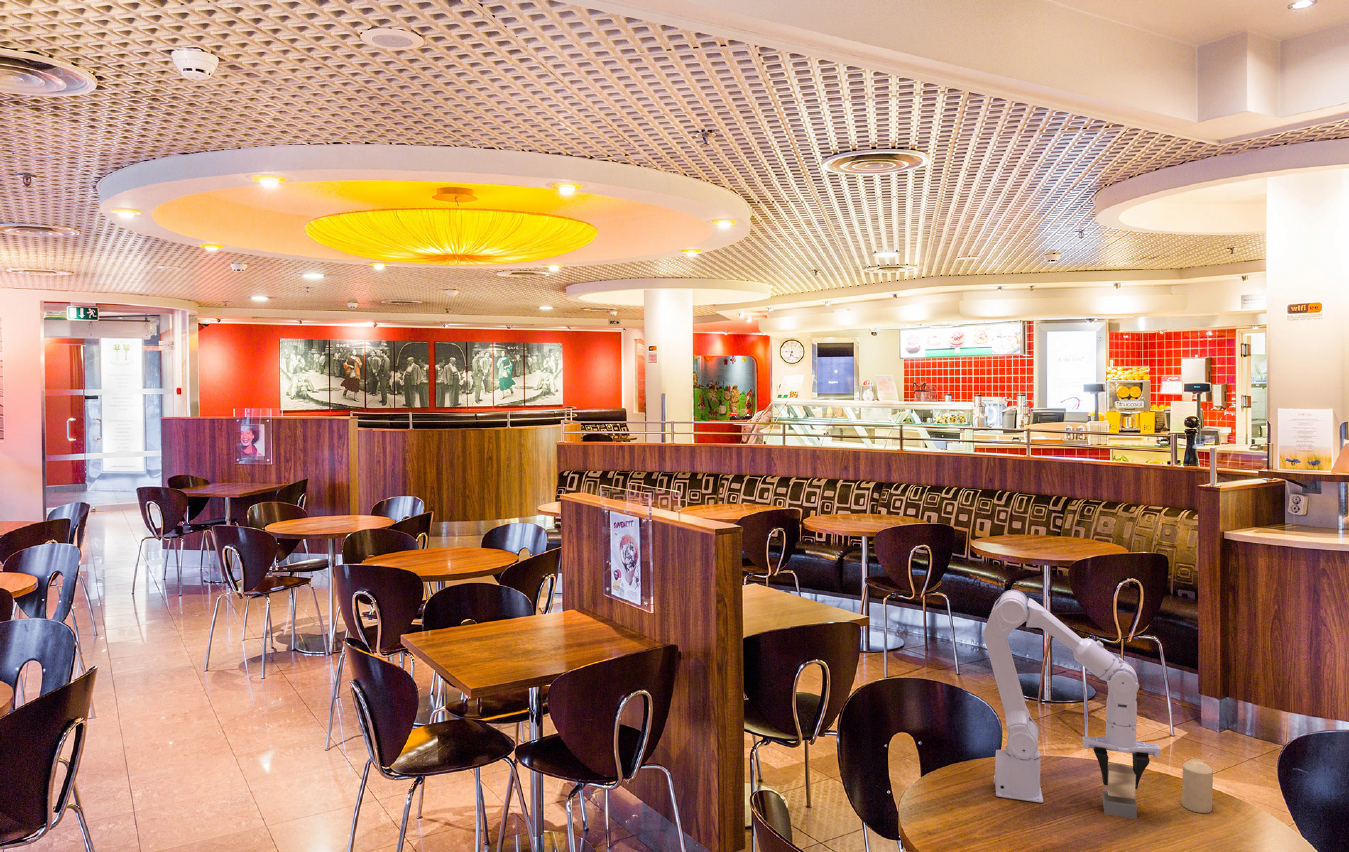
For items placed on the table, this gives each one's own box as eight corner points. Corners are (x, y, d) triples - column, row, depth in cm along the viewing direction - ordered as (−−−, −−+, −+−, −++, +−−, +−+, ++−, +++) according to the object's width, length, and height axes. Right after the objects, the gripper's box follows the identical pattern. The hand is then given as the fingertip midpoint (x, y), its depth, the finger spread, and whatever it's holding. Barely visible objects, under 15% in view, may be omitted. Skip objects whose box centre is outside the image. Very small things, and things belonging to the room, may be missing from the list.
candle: (1216, 814, 182) (1217, 767, 182) (1187, 812, 183) (1188, 765, 183) (1205, 802, 187) (1207, 757, 187) (1177, 800, 188) (1179, 754, 188)
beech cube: (1108, 795, 182) (1109, 771, 182) (1104, 785, 187) (1105, 762, 186) (1135, 799, 180) (1135, 775, 180) (1130, 788, 185) (1131, 765, 185)
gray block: (1104, 815, 182) (1104, 801, 182) (1102, 803, 188) (1102, 789, 187) (1136, 821, 180) (1136, 806, 180) (1133, 808, 185) (1134, 794, 185)
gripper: (1086, 724, 181) (1084, 788, 182) (1164, 732, 177) (1162, 798, 177) (1081, 712, 188) (1080, 774, 189) (1156, 720, 184) (1155, 784, 184)
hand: (1119, 785), depth 183 cm, fingers closed on beech cube, 5 cm apart
